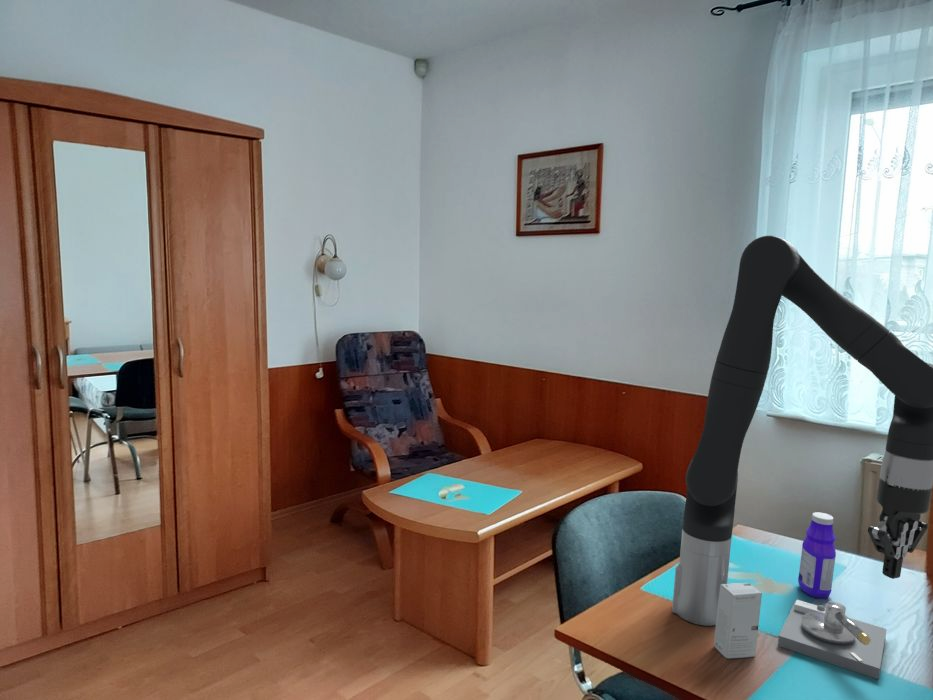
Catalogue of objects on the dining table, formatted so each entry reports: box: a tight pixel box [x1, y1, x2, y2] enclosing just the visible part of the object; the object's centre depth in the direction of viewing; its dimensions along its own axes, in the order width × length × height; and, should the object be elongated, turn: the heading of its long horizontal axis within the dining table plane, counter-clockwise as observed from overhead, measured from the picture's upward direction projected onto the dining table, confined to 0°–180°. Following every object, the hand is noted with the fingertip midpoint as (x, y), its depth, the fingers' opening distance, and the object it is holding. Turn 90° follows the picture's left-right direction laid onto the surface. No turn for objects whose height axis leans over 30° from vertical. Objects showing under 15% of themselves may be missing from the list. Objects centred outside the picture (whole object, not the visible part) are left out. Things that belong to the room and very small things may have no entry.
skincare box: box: [713, 582, 763, 659], centre depth 121 cm, size 6×4×12 cm
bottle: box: [797, 511, 837, 599], centre depth 145 cm, size 7×6×17 cm
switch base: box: [777, 599, 887, 680], centre depth 126 cm, size 16×16×4 cm
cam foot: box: [801, 601, 871, 645], centre depth 122 cm, size 16×9×6 cm, turn 1°
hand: (890, 576), depth 116 cm, fingers closed
